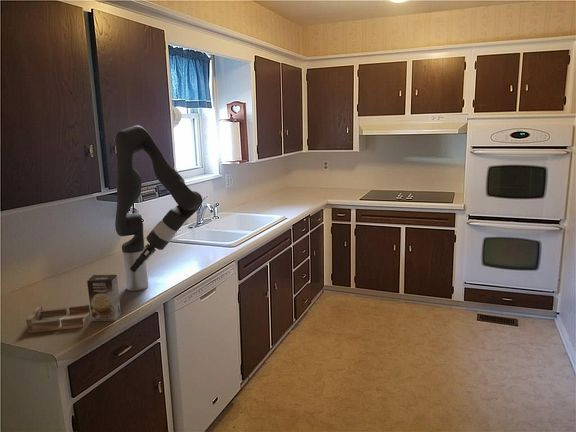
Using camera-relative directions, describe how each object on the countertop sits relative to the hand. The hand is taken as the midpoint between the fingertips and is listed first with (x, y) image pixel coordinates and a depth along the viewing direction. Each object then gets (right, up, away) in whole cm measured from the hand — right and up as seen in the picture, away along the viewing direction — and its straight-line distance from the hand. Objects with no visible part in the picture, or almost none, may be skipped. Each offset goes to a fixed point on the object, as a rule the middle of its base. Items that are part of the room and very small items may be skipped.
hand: (135, 267), depth 164 cm
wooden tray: (-27, -20, -1) cm, 34 cm away
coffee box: (-11, -19, +2) cm, 23 cm away
